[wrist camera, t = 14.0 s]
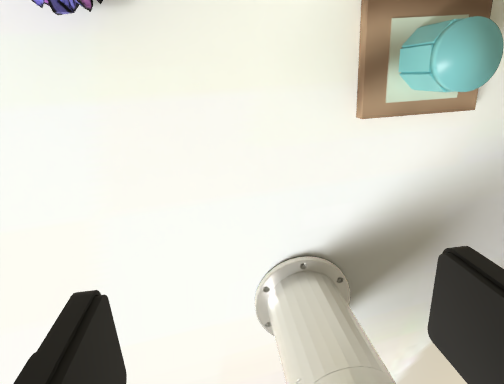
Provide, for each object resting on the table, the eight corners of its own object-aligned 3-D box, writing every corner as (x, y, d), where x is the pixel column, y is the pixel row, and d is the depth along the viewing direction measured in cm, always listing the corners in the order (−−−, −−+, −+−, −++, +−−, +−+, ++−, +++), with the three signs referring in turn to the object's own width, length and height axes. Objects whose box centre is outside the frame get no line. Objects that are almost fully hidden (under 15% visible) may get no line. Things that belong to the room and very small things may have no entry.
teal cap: (458, 24, 33) (509, 14, 28) (450, 87, 35) (496, 89, 30) (401, 28, 33) (442, 18, 27) (396, 91, 35) (433, 94, 29)
